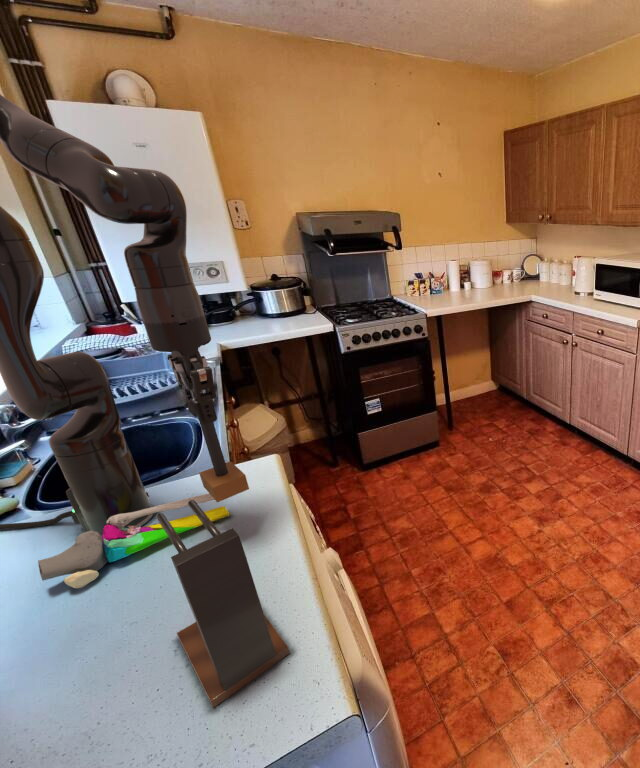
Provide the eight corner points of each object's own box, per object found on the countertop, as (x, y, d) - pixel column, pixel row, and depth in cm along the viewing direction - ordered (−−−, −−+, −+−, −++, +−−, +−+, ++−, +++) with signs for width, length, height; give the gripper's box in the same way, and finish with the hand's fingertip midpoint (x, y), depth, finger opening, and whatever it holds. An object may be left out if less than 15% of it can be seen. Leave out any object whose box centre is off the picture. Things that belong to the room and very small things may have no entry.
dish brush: (203, 487, 77) (173, 394, 71) (234, 474, 81) (208, 385, 74) (217, 502, 73) (186, 405, 66) (249, 489, 76) (223, 395, 70)
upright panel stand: (178, 637, 60) (127, 516, 53) (248, 596, 67) (211, 482, 59) (213, 708, 51) (158, 574, 44) (290, 653, 58) (253, 528, 50)
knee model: (232, 540, 85) (48, 609, 67) (218, 510, 89) (40, 567, 70) (235, 511, 81) (37, 576, 62) (220, 480, 84) (29, 532, 66)
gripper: (131, 313, 67) (166, 414, 73) (155, 327, 58) (192, 440, 65) (189, 305, 72) (216, 400, 79) (218, 317, 64) (246, 422, 70)
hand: (205, 418), depth 72 cm, fingers closed on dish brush, 3 cm apart
